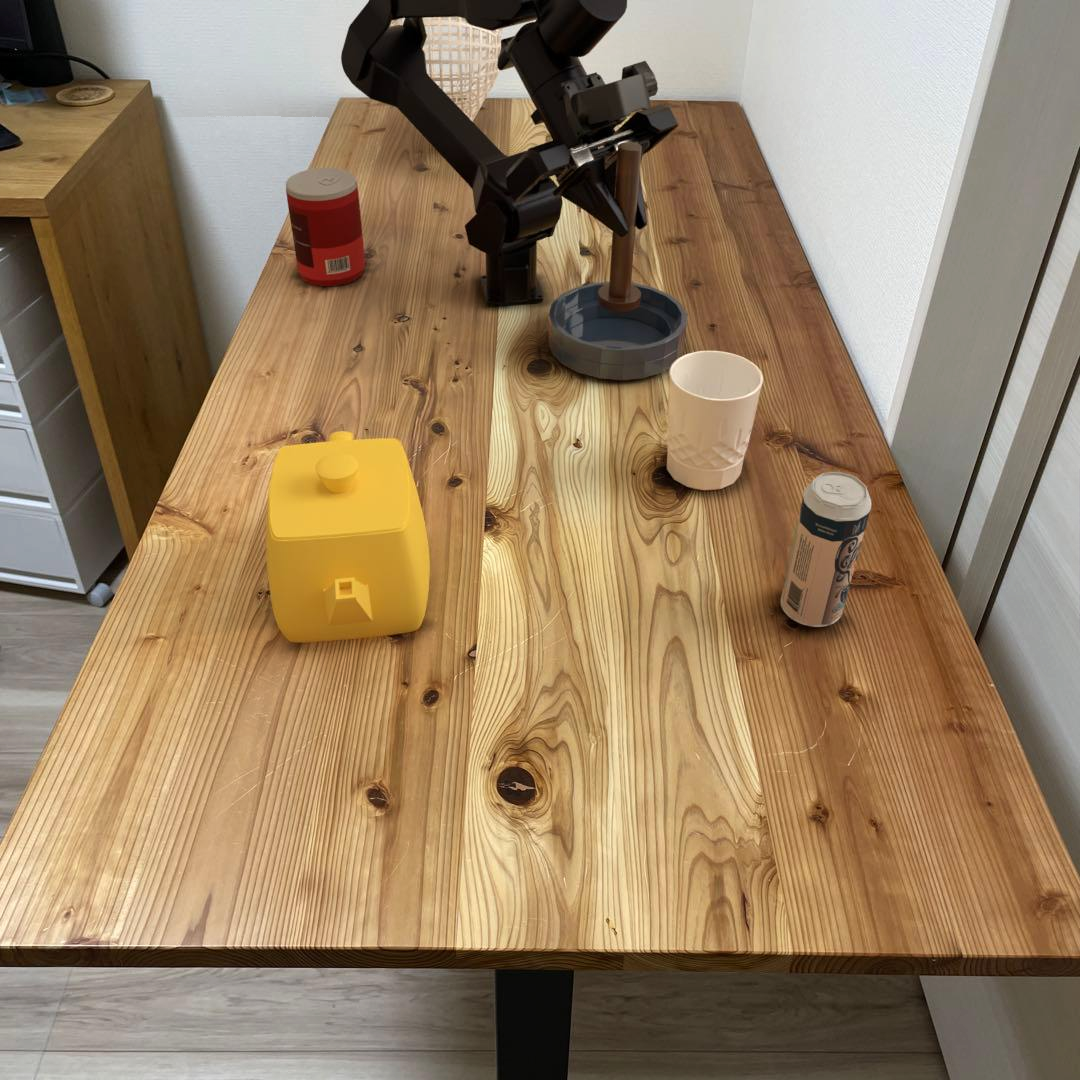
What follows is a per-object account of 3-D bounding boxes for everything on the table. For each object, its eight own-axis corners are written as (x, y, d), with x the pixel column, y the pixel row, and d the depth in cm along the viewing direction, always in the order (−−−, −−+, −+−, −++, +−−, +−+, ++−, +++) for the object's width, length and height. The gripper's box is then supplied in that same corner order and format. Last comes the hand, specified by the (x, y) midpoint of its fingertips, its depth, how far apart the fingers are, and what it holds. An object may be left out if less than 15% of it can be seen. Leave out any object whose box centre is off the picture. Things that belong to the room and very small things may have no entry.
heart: (503, 185, 145) (501, 8, 131) (388, 185, 145) (373, 7, 130) (503, 113, 166) (501, -47, 152) (403, 113, 166) (391, -47, 151)
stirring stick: (594, 309, 108) (602, 152, 98) (600, 289, 111) (609, 135, 101) (637, 314, 108) (650, 157, 97) (642, 293, 111) (656, 139, 100)
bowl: (538, 320, 117) (538, 286, 115) (663, 310, 119) (666, 277, 117) (562, 389, 107) (563, 355, 104) (699, 377, 109) (704, 343, 106)
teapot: (440, 676, 78) (431, 555, 70) (267, 693, 76) (238, 572, 69) (424, 505, 93) (415, 390, 85) (279, 517, 91) (256, 400, 84)
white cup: (754, 453, 99) (770, 359, 92) (737, 503, 93) (753, 407, 87) (671, 436, 101) (681, 343, 94) (650, 484, 95) (659, 389, 89)
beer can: (841, 635, 81) (875, 513, 73) (778, 626, 82) (805, 504, 74) (841, 593, 85) (873, 472, 77) (780, 584, 85) (806, 464, 78)
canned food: (378, 264, 127) (369, 173, 120) (341, 293, 121) (330, 200, 114) (324, 251, 129) (312, 162, 122) (285, 279, 124) (270, 187, 117)
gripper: (526, 56, 91) (613, 221, 92) (673, 15, 100) (749, 165, 101) (469, 124, 100) (548, 274, 101) (608, 81, 110) (679, 218, 111)
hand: (634, 231), depth 103 cm, fingers closed on stirring stick, 2 cm apart
